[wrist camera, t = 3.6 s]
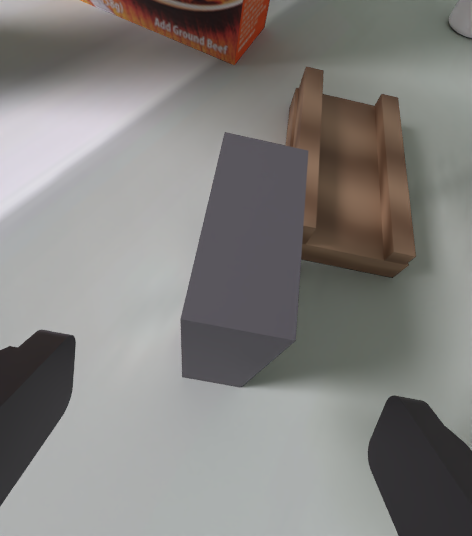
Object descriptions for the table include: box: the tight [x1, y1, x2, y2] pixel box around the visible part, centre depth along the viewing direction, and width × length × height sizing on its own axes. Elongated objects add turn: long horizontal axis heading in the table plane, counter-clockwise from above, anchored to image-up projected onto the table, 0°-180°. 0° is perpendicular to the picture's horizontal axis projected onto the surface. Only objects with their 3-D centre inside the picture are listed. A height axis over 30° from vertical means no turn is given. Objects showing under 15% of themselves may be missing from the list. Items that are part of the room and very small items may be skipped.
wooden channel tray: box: [285, 67, 416, 278], centre depth 26 cm, size 16×9×4 cm, turn 172°
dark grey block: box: [181, 132, 308, 387], centre depth 17 cm, size 8×4×11 cm, turn 172°
